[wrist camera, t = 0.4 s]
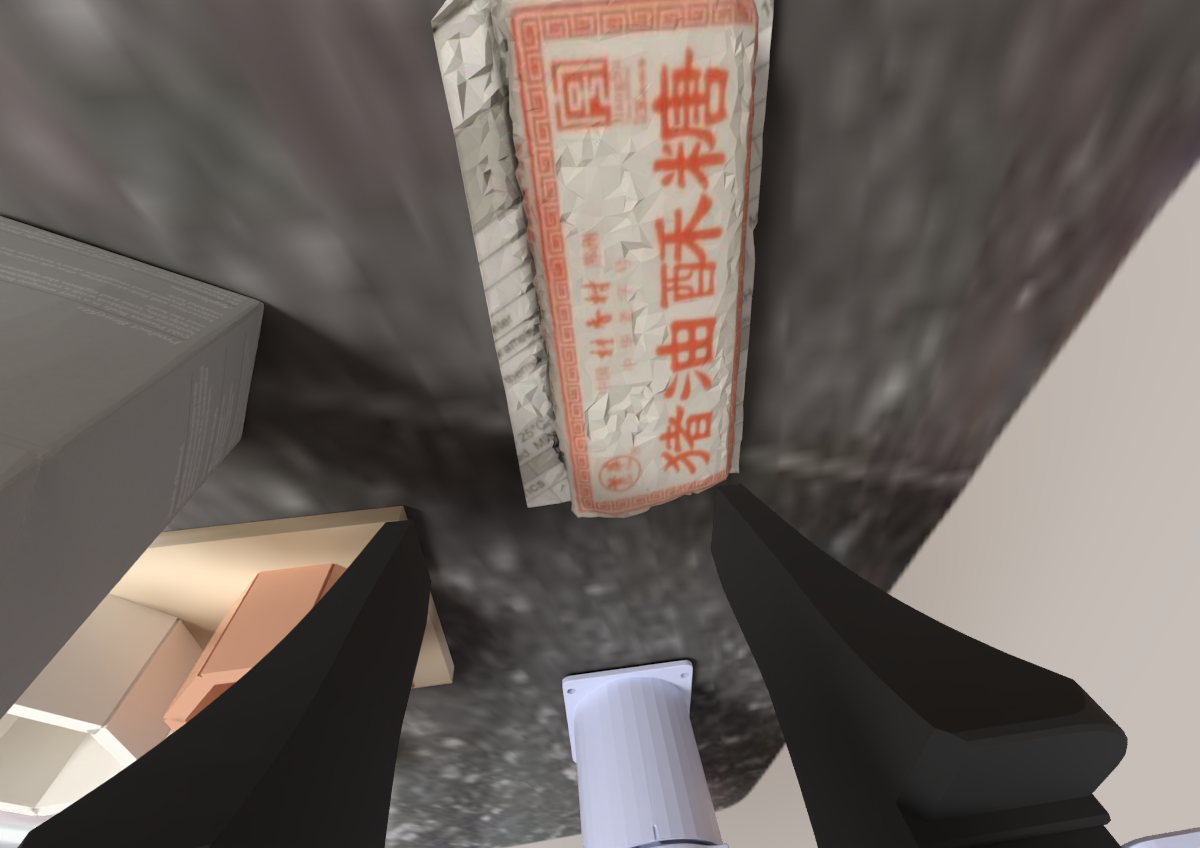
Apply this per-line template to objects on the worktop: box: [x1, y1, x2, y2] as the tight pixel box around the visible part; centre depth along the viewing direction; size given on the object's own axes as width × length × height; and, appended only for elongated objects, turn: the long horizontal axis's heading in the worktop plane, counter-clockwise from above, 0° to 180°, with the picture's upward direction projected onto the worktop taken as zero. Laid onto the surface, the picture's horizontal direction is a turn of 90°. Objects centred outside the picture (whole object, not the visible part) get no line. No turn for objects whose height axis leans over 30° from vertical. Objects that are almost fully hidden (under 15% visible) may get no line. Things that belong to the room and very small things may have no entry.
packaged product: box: [431, 0, 774, 518], centre depth 18 cm, size 18×5×10 cm
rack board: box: [109, 506, 454, 688], centre depth 25 cm, size 12×20×1 cm, turn 93°
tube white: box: [0, 594, 203, 816], centre depth 22 cm, size 8×8×5 cm
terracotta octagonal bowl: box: [163, 563, 347, 732], centre depth 23 cm, size 8×8×5 cm
